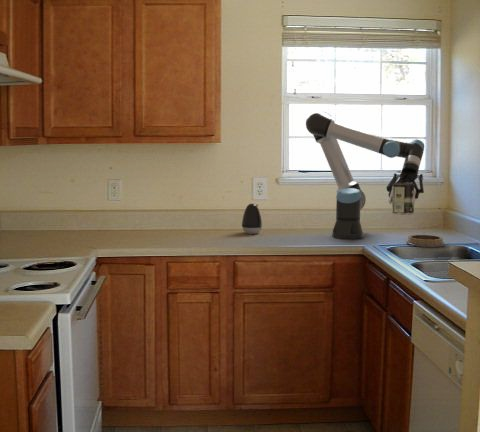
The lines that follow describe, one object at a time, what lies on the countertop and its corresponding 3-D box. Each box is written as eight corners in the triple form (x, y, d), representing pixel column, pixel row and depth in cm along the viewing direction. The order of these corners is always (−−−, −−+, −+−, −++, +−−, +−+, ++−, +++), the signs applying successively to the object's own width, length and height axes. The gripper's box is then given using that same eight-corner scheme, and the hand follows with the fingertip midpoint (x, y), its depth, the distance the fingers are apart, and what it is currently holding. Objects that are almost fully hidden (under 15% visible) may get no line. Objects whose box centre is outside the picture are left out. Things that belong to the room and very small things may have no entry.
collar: (402, 245, 307) (402, 238, 307) (412, 240, 322) (412, 233, 322) (439, 249, 299) (439, 241, 299) (448, 243, 314) (448, 236, 313)
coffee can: (413, 212, 319) (414, 182, 317) (414, 215, 309) (415, 184, 307) (391, 212, 321) (391, 182, 319) (391, 214, 311) (392, 184, 309)
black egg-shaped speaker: (265, 232, 340) (266, 203, 338) (255, 235, 331) (255, 205, 329) (248, 231, 346) (249, 201, 344) (237, 233, 337) (238, 203, 335)
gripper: (436, 172, 320) (427, 209, 308) (389, 171, 331) (379, 206, 319) (433, 162, 315) (424, 198, 303) (386, 161, 326) (376, 196, 314)
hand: (401, 202), depth 311 cm, fingers closed on coffee can, 10 cm apart
